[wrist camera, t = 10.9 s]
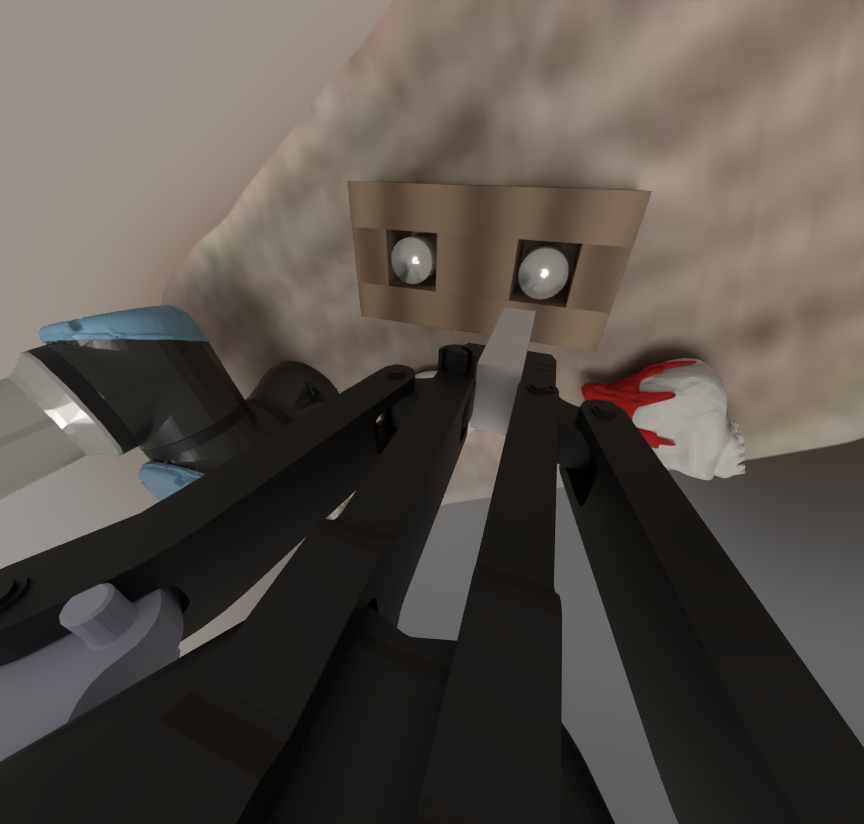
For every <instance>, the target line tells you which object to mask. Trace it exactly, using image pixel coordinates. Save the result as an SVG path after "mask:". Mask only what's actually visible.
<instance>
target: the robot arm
mask: <svg viewBox="0 0 864 824" xmlns="http://www.w3.org/2000/svg"><path fill="white" fill-rule="evenodd" d="M535 313H536V311H530V310H522V309H514V308H506V307H505V308H504V310H503V312H502V314H501V316H500V318H499V320H498V322H497V324H496V326H495V328H494V330H493V332H492V334H491V337H490V339H489V341H488V343H487V345H486V346H485V345H479V344H473V343H468V344H466V345H457V344H453V345H446V346H443V347H441V348H440V349H439V359H438V371H437V373H436V374H435V376H434V377H432V378H415V371H414V370H413V369H412V368H410V367H408V366H404V365H399V364H396V365H391V366H387V367H384V368H382V369H380V370H379V371H377V372H375V373H374V374H372V375H370V376H369V377H367V378H365V379H364V380H362V381H360V382H359V383H357V384H355V385H354V386H352V387H350V388H349V389H347V390H345V391H344V392H342V393H340V394H338V392H337V391H336V389H335V388H334V387H333V385H332V384H331V383H330V382H329V381H328V380H327V379H326V378H325V377H324V376H323V375H321V374H320V373H319V372H317V371H316V370H314V369H313V368H311V367H309V366H306V365H304V364H301V363H297V362H283V363H280V364H278V365H277V366H275V367H273V368H272V369H270V370H269V371H267V372H266V373H265V374H264V375H263V377H262V379H261V380H260V383H259V384H258V385H257V386H256V388H255V389H254V390H253V392H252V393H251V394H250V395H249V397H248V398H247V399H246V400H244V398H243V396H242V395H241V393H240V392H239V390H238V388H237V387H236V385H235V384H234V382H233V381H232V379H231V377H230V376H229V374H228V373H227V371H226V370H225V368H224V366H223V365H222V363H221V361H220V360H219V358H218V356H217V355H216V353H215V351H214V350H213V348H212V347H211V345H210V341H209V339H208V338H206V337H205V336H204V335H203V333H202V332H201V330H200V329H199V328H198V326H197V325H196V323H195V322H194V321H193V319H192V318H191V316H190V315H189V314H188V313H187V312H185V311H184V310H182V309H180V308H178V307H174V306H153V307H145V308H137V309H130V310H124V311H118V312H111V313H106V314H100V315H95V316H89V317H84V318H82V319H76V320H72V321H66V322H59V323H55V324H51V325H48V326H44V327H42V328H41V329H40V331H39V334H40V340H41V341H42V342H43V343H47V345H45V346H41V347H38V348H35V349H31V350H28V351H25V352H22V353H21V354H20V356H19V359H18V361H17V364H16V366H15V369H14V371H13V373H12V374H11V375H10V376H9V377H8V378H5V379H2V380H0V499H2V498H4V497H6V496H8V495H10V494H12V493H14V492H16V491H18V490H20V489H22V488H24V487H26V486H28V485H30V484H32V483H33V482H35V481H38V480H39V479H41V478H43V477H45V476H47V475H49V474H51V473H53V472H55V471H57V470H59V469H61V468H63V467H65V466H67V465H69V464H71V463H72V462H74V461H76V460H78V459H80V458H82V457H84V456H87V455H109V456H121V455H123V454H125V453H126V452H128V451H130V450H132V449H134V448H135V447H139V448H140V449H141V450H142V451H143V452H144V453H145V454H146V456H148V458H149V460H150V462H146V463H145V464H143V466H142V468H141V469H140V470H139V472H138V477H139V479H140V480H141V481H142V484H143V485H144V486H145V487H146V488H147V490H149V491H150V492H151V493H152V494H153V495H154V496H155V497H157V498H158V499H159V500H161V501H160V502H158V503H156V504H155V505H153V506H151V507H150V508H148V509H146V510H145V511H143V512H141V513H140V514H137V515H134V516H132V517H130V518H127V519H124V520H122V521H119V522H117V523H114V524H112V525H109V526H107V527H105V528H102V529H99V530H97V531H94V532H92V533H89V534H87V535H84V536H82V537H79V538H77V539H74V540H72V541H69V542H67V543H64V544H62V545H59V546H57V547H54V548H52V549H49V550H46V551H44V552H41V553H39V554H37V555H34V556H31V557H29V558H26V559H24V560H22V561H19V562H16V563H14V564H11V565H9V566H7V567H4V568H2V569H0V824H615V822H614V820H613V818H612V816H611V814H610V812H609V810H608V808H607V806H606V804H605V801H604V800H603V797H602V795H601V793H600V791H599V789H598V787H597V785H596V783H595V781H594V779H593V776H592V774H591V772H590V770H589V768H588V766H587V764H586V762H585V760H584V758H583V756H582V754H581V752H580V751H579V749H578V747H577V746H576V744H575V742H574V740H573V739H572V737H571V736H570V734H569V732H568V731H567V729H566V728H565V726H564V725H563V724H562V722H561V697H562V693H561V692H562V689H561V688H562V685H561V684H562V609H561V600H560V596H559V595H558V594H557V593H556V592H555V590H554V555H555V553H554V552H555V517H556V516H555V515H556V479H557V463H558V464H560V466H559V471H560V475H561V478H562V481H563V484H564V487H565V490H566V493H567V496H568V499H569V502H570V505H571V508H572V511H573V514H574V517H575V520H576V523H577V526H578V529H579V532H580V535H581V538H582V541H583V544H584V547H585V550H586V554H587V557H588V560H589V563H590V566H591V569H592V572H593V575H594V578H595V581H596V583H597V587H598V590H599V593H600V596H601V599H602V602H603V605H604V608H605V611H606V614H607V617H608V621H609V624H610V627H611V630H612V633H613V636H614V639H615V642H616V645H617V648H618V651H619V654H620V657H621V660H622V663H623V666H624V669H625V672H626V675H627V678H628V681H629V684H630V687H631V690H632V693H633V697H634V700H635V703H636V706H637V709H638V711H639V715H640V718H641V721H642V724H643V727H644V730H645V733H646V736H647V739H648V742H649V745H650V748H651V751H652V754H653V757H654V760H655V763H656V766H657V769H658V772H659V774H660V777H661V780H662V782H663V785H664V788H665V790H666V793H667V796H668V799H669V801H670V804H671V807H672V809H673V812H674V814H675V816H676V819H677V821H678V823H679V824H864V747H863V746H862V744H861V743H860V742H859V740H858V739H857V737H856V736H855V735H854V733H853V732H852V730H851V729H850V728H849V726H848V725H847V724H846V722H845V721H844V719H843V718H842V716H841V715H840V713H839V712H838V711H837V709H836V708H835V706H834V705H833V704H832V702H831V701H830V699H829V698H828V696H827V695H826V694H825V692H824V691H823V689H822V688H821V687H820V685H819V684H818V683H817V681H816V680H815V678H814V677H813V675H812V674H811V673H810V671H809V670H808V668H807V667H806V665H805V664H804V663H803V661H802V660H801V658H800V657H799V656H798V654H797V653H796V651H795V650H794V648H793V647H792V646H791V644H790V643H789V642H788V640H787V639H786V637H785V636H784V634H783V633H782V632H781V630H780V629H779V628H778V626H777V624H776V623H775V622H774V620H773V619H772V617H771V616H770V615H769V613H768V612H767V610H766V609H765V608H764V606H763V605H762V603H761V602H760V600H759V599H758V598H757V596H756V595H755V593H754V592H753V591H752V589H751V588H750V586H749V585H748V584H747V582H746V581H745V580H744V578H743V577H742V575H741V574H740V572H739V571H738V569H737V568H736V567H735V565H734V564H733V562H732V561H731V560H730V558H729V557H728V555H727V554H726V553H725V551H724V550H723V548H722V547H721V545H720V544H719V543H718V541H717V540H716V538H715V537H714V536H713V534H712V533H711V531H710V530H709V529H708V527H707V526H706V524H705V523H704V521H703V520H702V519H701V517H700V516H699V514H698V513H697V512H696V510H695V509H694V507H693V506H692V505H691V503H690V502H689V500H688V499H687V497H686V496H685V495H684V493H683V492H682V490H681V489H680V488H679V486H678V485H677V483H676V482H675V481H674V479H673V478H672V477H671V475H670V474H669V472H668V471H667V469H666V468H665V466H664V465H663V464H662V462H661V461H660V459H659V458H658V457H657V455H656V454H655V452H654V451H653V449H652V448H651V447H650V445H649V444H648V442H647V441H646V440H645V438H644V437H643V435H642V434H641V433H640V431H639V430H638V428H637V427H636V425H635V424H634V423H633V421H632V420H631V418H630V417H629V416H628V414H627V413H626V412H625V411H624V410H623V409H622V408H621V407H619V406H617V405H615V404H614V403H612V402H608V401H606V400H598V399H592V400H587V401H584V402H583V403H582V404H581V406H580V407H578V406H575V405H572V404H570V403H568V402H566V401H564V400H562V399H561V398H560V397H559V391H558V388H557V387H556V360H555V358H554V357H553V356H552V355H550V354H544V353H537V352H530V351H527V350H528V346H529V341H530V336H531V331H532V327H533V322H534V317H535ZM380 415H381V420H380V421H379V422H377V423H376V420H377V418H378V417H379V416H380ZM470 419H471V421H470ZM469 422H470V427H471V428H475V429H480V430H484V431H489V432H494V433H498V434H503V435H506V439H505V443H504V447H503V451H502V456H501V460H500V464H499V468H498V473H497V477H496V481H495V486H494V490H493V494H492V498H491V503H490V507H489V511H488V515H487V520H486V524H485V528H484V532H483V537H482V541H481V545H480V550H479V554H478V558H477V562H476V566H475V569H474V572H473V576H472V580H471V584H470V589H469V593H468V597H467V601H466V606H465V610H464V614H463V618H462V622H461V627H460V631H459V635H458V640H457V641H453V640H441V639H428V638H416V637H410V636H407V635H406V634H404V633H403V632H401V631H400V630H399V629H398V628H397V625H398V621H399V616H400V611H401V608H402V604H403V601H404V598H405V596H406V593H407V591H408V588H409V585H410V583H411V580H412V577H413V575H414V572H415V570H416V567H417V564H418V562H419V559H420V557H421V554H422V551H423V549H424V546H425V543H426V541H427V538H428V536H429V533H430V530H431V528H432V525H433V523H434V520H435V518H436V515H437V512H438V510H439V507H440V505H441V502H442V499H443V497H444V494H445V492H446V489H447V486H448V484H449V481H450V478H451V476H452V473H453V471H454V468H455V465H456V463H457V460H458V458H459V455H460V452H461V450H462V447H463V445H464V442H465V439H466V437H467V432H468V424H469ZM355 491H356V492H355ZM354 492H355V493H354ZM352 493H354V495H353V496H352V498H351V499H350V501H349V502H348V504H347V505H346V506H345V508H344V509H343V511H342V512H341V514H340V515H339V516H338V517H337V518H336V519H334V520H329V519H326V518H327V517H328V516H329V515H330V514H331V513H332V512H333V511H334V510H335V509H336V508H337V507H338V506H340V505H341V504H342V503H343V502H344V501H345V500H346V499H347V498H348V497H349V496H350V495H351V494H352ZM306 536H307V537H306ZM305 537H306V538H305ZM304 538H305V540H304V541H303V542H302V543H301V545H300V546H299V548H298V549H297V550H296V552H295V553H294V554H293V556H292V557H291V559H290V560H289V561H288V563H287V564H286V565H285V567H284V568H283V569H282V571H281V572H280V574H279V575H278V576H277V578H276V579H275V580H274V582H273V583H272V584H271V586H270V587H269V588H268V590H267V591H266V593H265V594H264V595H263V597H262V598H261V599H260V601H259V602H258V603H257V605H256V606H255V608H254V609H253V610H252V612H251V613H250V615H249V616H248V617H247V619H246V620H244V621H242V622H241V623H239V624H237V625H236V626H234V627H232V628H230V629H229V630H227V631H225V632H223V633H222V634H220V635H218V636H216V637H215V638H213V639H211V640H210V641H208V642H206V643H204V644H203V645H201V646H199V647H198V648H196V649H194V650H192V651H190V652H189V653H187V654H185V655H184V656H182V657H180V658H179V656H180V649H179V648H178V646H179V644H180V642H181V641H182V640H184V639H186V638H187V637H189V636H190V635H192V634H193V633H195V632H196V631H198V630H199V629H201V628H202V627H204V626H205V625H206V624H208V623H209V622H210V621H212V620H213V619H214V618H216V617H217V616H218V615H220V614H221V613H222V612H224V611H225V610H226V609H227V608H228V607H229V606H231V605H232V604H233V603H234V602H235V601H237V600H238V599H239V598H240V597H241V596H242V595H244V594H245V593H246V592H247V591H248V590H249V589H250V588H251V587H252V586H254V585H255V584H256V583H257V582H258V581H259V580H260V579H261V578H262V577H263V576H264V575H265V574H266V573H267V572H269V571H270V570H271V569H272V568H273V567H274V566H275V565H276V564H277V563H278V562H279V561H280V560H282V559H283V558H284V557H285V556H286V555H287V554H288V553H289V552H290V551H291V550H292V549H293V548H294V547H295V546H297V545H298V544H299V543H300V542H301V541H302V540H303V539H304Z"/></svg>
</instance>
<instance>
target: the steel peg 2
mask: <svg viewBox="0 0 864 824" xmlns="http://www.w3.org/2000/svg"><path fill="white" fill-rule="evenodd" d="M568 269H569V256H568V252H567V250H566V248H565V247H564V245H563V244H561V243H560V242H552V241H541V242H539V243H537V244H536V245H535V246H534V247H533V248H532V249H531V250H530V251H529V253H528V254H527V256H526V258H525V259H524V261H523V262H522V264H521V266H520V269H519V274H518V280H519V284H520V287H521V289H522V290H523V291H524V293H526V294H527V295H528V296H530V297H532V298H535V299H546V298H549V297H552V296H554V295H555V294H557V293H558V292H559V291H560V290H561V289H562V288H563V286H564V285H565V283H566V281H567V278H568Z"/></svg>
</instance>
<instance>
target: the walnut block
mask: <svg viewBox="0 0 864 824" xmlns="http://www.w3.org/2000/svg"><path fill="white" fill-rule="evenodd" d="M348 190H349V200H350V209H351V219H352V229H353V238H354V248H355V258H356V267H357V277H358V287H359V296H360V306H361V316H367V317H373V318H380V319H386V320H393V321H400V322H406V323H413V324H419V325H426V326H432V327H439V328H446V329H452V330H459V331H465V332H472V333H478V334H485V335H491V334H492V332H493V330H494V328H495V326H496V324H497V322H498V320H499V318H500V316H501V314H502V312H503V310H504V308H505V307H506V308H514V309H522V310H530V311H536V313H535V317H534V322H533V327H532V331H531V336H530V341H531V342H537V343H544V344H551V345H557V346H564V347H570V348H577V349H583V350H590V351H597V348H598V345H599V342H600V339H601V336H602V333H603V331H604V328H605V325H606V322H607V319H608V316H609V313H610V310H611V307H612V305H613V302H614V299H615V296H616V293H617V290H618V287H619V284H620V281H621V279H622V276H623V273H624V270H625V267H626V264H627V261H628V258H629V256H630V253H631V250H632V247H633V244H634V241H635V238H636V235H637V232H638V230H639V227H640V224H641V221H642V218H643V215H644V212H645V209H646V206H647V204H648V201H649V198H650V195H651V192H652V191H642V190H613V189H582V188H550V187H519V186H487V185H456V184H424V183H393V182H353V181H348ZM411 231H415V232H429V233H438V234H437V266H436V276H430V277H428V278H427V279H425V280H423V281H422V282H420V283H417V284H409V283H406V282H404V281H402V280H401V279H400V278H399V277H398V276H397V275H396V273H395V271H394V269H393V266H392V260H391V257H392V251H393V249H394V247H395V245H396V244H397V243H398V242H399V241H400V240H402V239H404V238H407V237H410V236H411ZM524 240H538V241H552V242H566V243H579V245H578V249H577V252H576V256H575V260H574V264H573V268H572V272H571V276H570V280H569V283H568V287H567V291H566V290H560V291H559V292H558V293H557V294H555V295H554V296H552V297H549V298H546V299H535V298H532V297H530V296H528V295H527V294H526V293H524V291H523V290H522V289H521V287H520V285H517V281H518V274H519V269H520V264H521V258H522V252H523V246H524Z"/></svg>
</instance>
